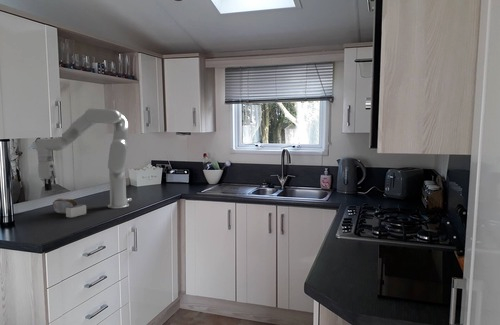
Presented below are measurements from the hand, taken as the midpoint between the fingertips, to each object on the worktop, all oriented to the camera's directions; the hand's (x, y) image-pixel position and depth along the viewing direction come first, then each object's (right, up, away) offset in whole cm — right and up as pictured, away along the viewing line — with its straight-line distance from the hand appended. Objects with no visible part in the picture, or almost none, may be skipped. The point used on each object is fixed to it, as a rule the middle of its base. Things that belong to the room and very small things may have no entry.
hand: (48, 190), depth 216 cm
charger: (+21, -13, -10) cm, 27 cm away
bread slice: (+13, -13, -6) cm, 19 cm away
